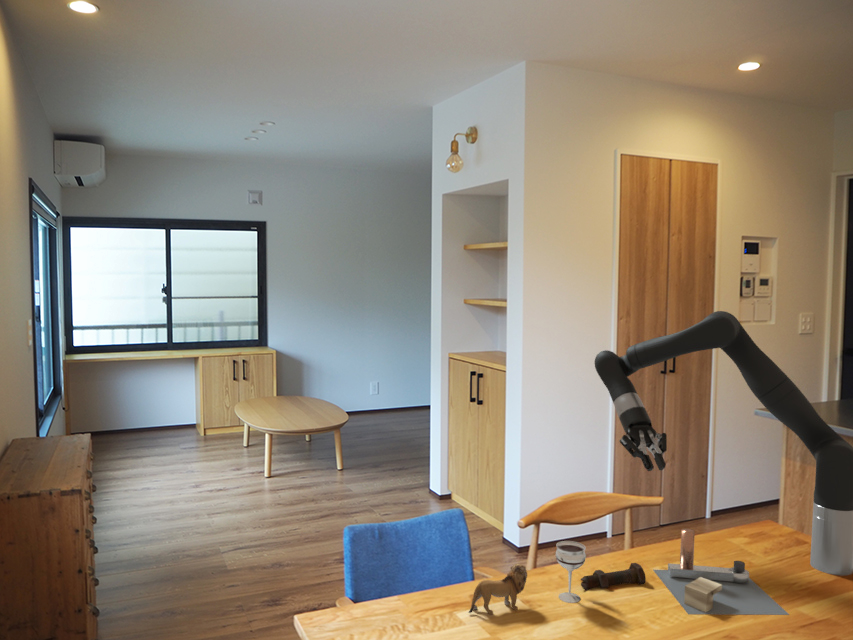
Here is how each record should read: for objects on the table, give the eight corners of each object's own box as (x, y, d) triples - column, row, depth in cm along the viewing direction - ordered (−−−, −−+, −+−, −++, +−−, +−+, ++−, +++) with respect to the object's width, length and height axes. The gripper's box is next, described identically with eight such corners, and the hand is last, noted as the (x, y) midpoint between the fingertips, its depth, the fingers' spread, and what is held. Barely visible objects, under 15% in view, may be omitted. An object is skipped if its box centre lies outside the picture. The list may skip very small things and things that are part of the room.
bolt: (581, 597, 160) (638, 588, 164) (590, 596, 155) (648, 587, 159) (575, 571, 162) (631, 563, 166) (584, 569, 158) (641, 561, 162)
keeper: (699, 594, 155) (700, 576, 155) (721, 602, 152) (722, 584, 151) (684, 603, 151) (684, 585, 151) (705, 612, 147) (706, 594, 147)
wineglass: (587, 594, 157) (588, 543, 157) (581, 607, 151) (582, 554, 150) (558, 588, 160) (559, 538, 159) (551, 600, 154) (552, 549, 153)
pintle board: (652, 574, 168) (653, 552, 168) (740, 574, 169) (741, 552, 168) (688, 619, 146) (689, 594, 146) (789, 619, 147) (790, 594, 146)
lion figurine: (518, 596, 156) (519, 558, 155) (532, 606, 151) (533, 567, 151) (463, 610, 149) (463, 570, 149) (475, 621, 145) (476, 580, 144)
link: (745, 576, 165) (747, 531, 164) (751, 584, 160) (753, 538, 159) (667, 570, 167) (668, 526, 167) (670, 577, 163) (672, 533, 162)
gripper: (614, 406, 182) (639, 463, 171) (660, 404, 186) (687, 460, 175) (603, 421, 187) (627, 478, 177) (648, 419, 191) (673, 474, 180)
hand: (656, 469), depth 176 cm, fingers open, 3 cm apart
